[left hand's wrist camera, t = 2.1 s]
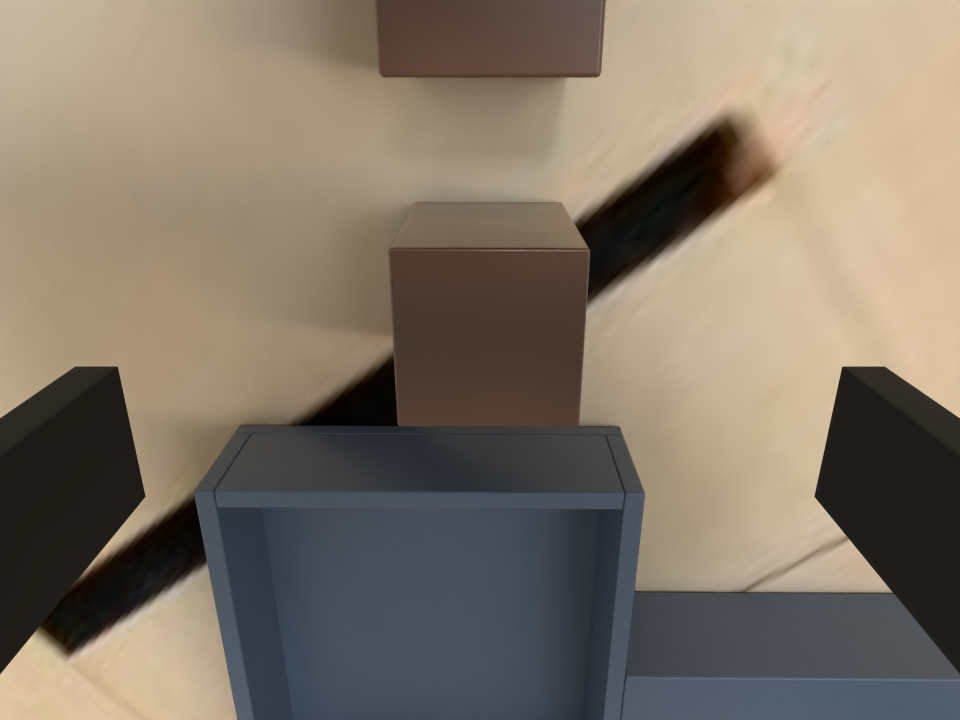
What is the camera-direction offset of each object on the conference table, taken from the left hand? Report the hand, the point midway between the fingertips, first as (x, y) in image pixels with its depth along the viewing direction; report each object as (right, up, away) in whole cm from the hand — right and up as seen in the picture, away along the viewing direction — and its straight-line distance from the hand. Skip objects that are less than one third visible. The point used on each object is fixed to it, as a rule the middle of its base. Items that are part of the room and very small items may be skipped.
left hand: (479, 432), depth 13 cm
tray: (+4, -9, +14) cm, 17 cm away
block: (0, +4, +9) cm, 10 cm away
